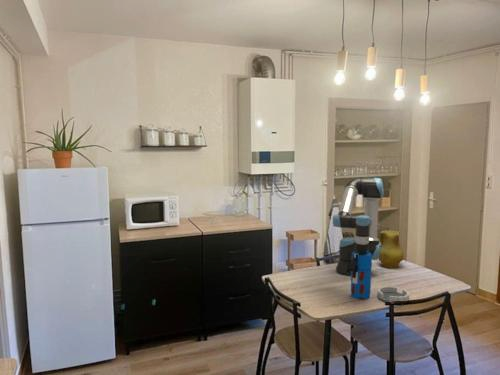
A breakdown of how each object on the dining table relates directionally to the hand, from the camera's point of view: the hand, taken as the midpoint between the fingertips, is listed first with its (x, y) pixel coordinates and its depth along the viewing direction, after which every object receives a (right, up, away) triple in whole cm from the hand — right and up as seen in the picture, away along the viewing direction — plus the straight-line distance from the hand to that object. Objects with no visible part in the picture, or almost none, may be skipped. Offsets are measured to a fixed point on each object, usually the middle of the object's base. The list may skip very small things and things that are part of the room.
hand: (360, 280), depth 220 cm
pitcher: (+38, -3, +58) cm, 69 cm away
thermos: (0, -9, +1) cm, 9 cm away
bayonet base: (+17, -9, -3) cm, 20 cm away
